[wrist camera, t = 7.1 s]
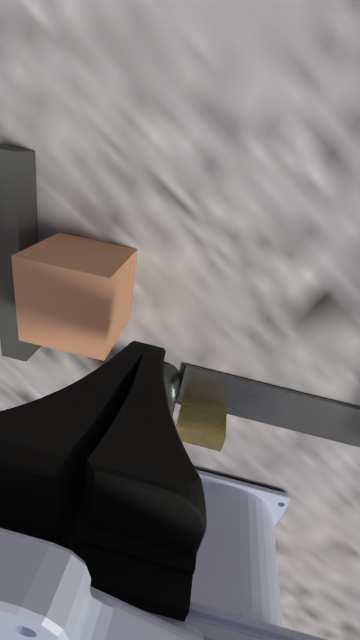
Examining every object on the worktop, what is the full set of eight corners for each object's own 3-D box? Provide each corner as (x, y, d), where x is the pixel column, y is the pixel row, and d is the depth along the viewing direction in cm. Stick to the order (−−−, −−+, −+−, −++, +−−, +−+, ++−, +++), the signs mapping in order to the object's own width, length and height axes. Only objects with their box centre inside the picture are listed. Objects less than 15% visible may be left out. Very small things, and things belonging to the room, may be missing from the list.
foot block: (130, 318, 20) (104, 360, 16) (60, 302, 20) (18, 340, 16) (137, 249, 18) (110, 278, 14) (60, 231, 18) (11, 255, 14)
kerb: (41, 346, 22) (26, 361, 20) (18, 340, 22) (2, 355, 20) (34, 150, 16) (13, 151, 15) (4, 144, 16) (-21, 143, 15)
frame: (411, 463, 22) (444, 523, 18) (141, 395, 23) (125, 440, 19) (442, 427, 20) (485, 486, 17) (149, 354, 21) (131, 396, 17)
